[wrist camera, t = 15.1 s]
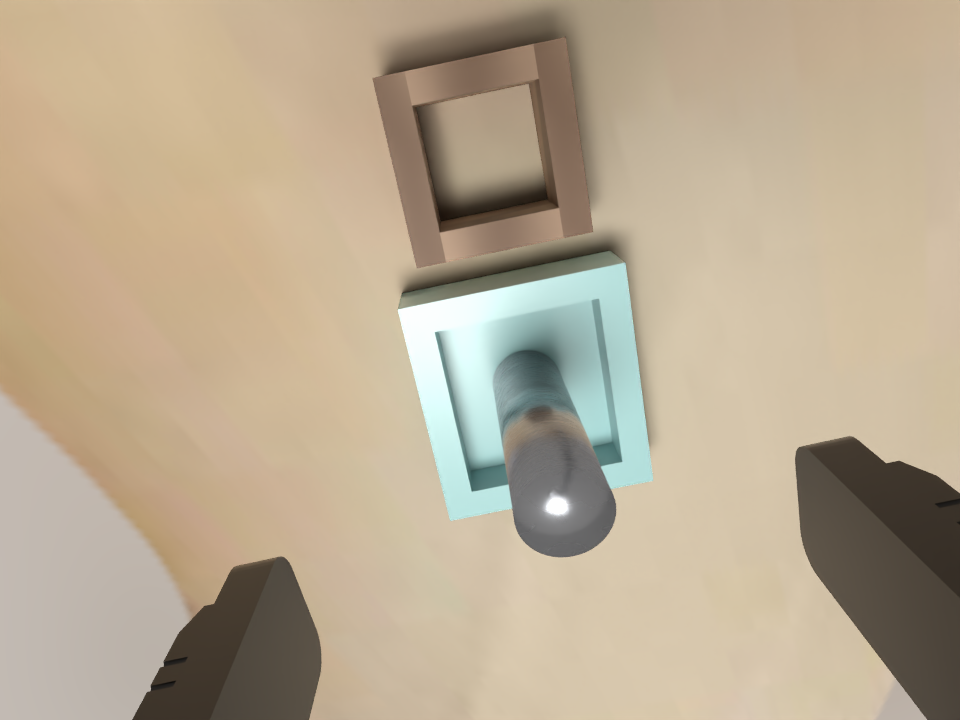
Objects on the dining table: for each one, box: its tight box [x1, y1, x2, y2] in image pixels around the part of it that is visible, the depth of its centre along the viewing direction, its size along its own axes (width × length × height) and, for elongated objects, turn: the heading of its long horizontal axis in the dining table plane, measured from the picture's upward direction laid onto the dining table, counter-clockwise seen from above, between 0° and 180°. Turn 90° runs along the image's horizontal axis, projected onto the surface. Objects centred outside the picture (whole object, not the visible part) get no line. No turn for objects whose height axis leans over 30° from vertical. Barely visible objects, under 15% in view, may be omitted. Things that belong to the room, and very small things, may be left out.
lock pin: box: [493, 350, 616, 557], centre depth 33 cm, size 4×4×14 cm
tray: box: [398, 251, 653, 521], centre depth 39 cm, size 12×13×4 cm
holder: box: [373, 37, 593, 268], centre depth 34 cm, size 9×9×4 cm
